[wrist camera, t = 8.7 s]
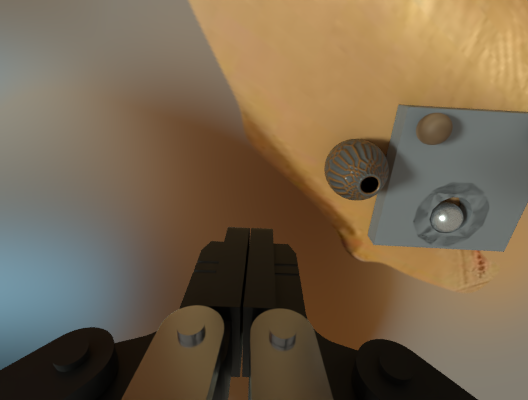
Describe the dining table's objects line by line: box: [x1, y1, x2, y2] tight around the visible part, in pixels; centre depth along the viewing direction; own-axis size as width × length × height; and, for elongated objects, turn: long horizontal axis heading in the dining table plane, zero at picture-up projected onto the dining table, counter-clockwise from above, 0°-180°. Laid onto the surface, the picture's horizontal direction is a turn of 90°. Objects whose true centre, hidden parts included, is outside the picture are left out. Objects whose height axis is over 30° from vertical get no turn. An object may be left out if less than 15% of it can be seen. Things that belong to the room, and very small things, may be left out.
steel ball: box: [429, 202, 463, 232], centre depth 37 cm, size 4×4×4 cm
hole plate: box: [368, 105, 528, 252], centre depth 36 cm, size 18×18×2 cm
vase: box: [325, 139, 389, 200], centre depth 32 cm, size 7×7×9 cm
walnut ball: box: [416, 113, 453, 145], centre depth 30 cm, size 3×3×3 cm
